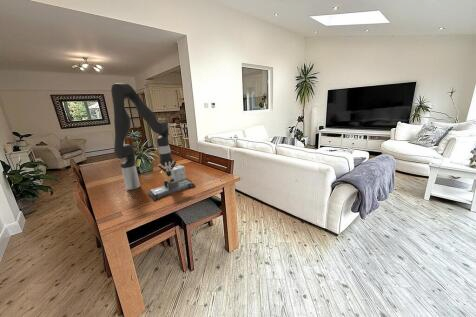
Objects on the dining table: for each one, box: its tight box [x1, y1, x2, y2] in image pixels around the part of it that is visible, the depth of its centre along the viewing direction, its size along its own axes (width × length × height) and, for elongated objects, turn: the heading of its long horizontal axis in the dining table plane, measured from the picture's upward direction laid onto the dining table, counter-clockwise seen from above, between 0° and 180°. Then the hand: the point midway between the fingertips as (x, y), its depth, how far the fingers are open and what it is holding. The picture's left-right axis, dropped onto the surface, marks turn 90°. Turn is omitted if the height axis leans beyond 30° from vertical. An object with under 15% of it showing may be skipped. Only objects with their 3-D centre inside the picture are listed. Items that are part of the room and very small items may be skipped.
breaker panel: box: [149, 178, 192, 198], centre depth 136 cm, size 10×26×7 cm, turn 129°
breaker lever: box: [160, 169, 171, 183], centre depth 133 cm, size 4×2×13 cm, turn 39°
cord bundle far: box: [187, 179, 196, 189], centre depth 144 cm, size 15×4×2 cm, turn 39°
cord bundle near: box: [147, 190, 161, 201], centre depth 129 cm, size 15×4×2 cm, turn 39°
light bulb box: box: [169, 164, 187, 181], centre depth 153 cm, size 11×7×11 cm, turn 145°
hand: (169, 175), depth 133 cm, fingers closed
